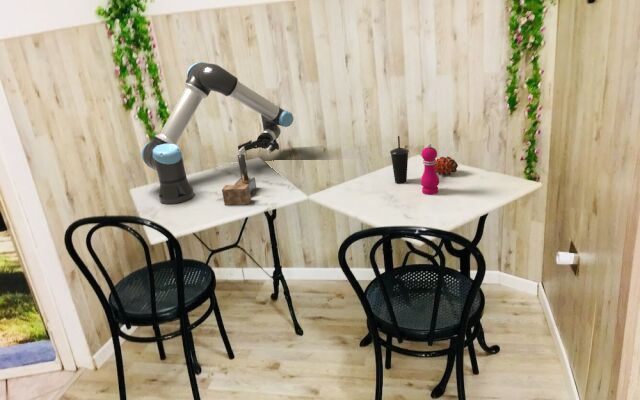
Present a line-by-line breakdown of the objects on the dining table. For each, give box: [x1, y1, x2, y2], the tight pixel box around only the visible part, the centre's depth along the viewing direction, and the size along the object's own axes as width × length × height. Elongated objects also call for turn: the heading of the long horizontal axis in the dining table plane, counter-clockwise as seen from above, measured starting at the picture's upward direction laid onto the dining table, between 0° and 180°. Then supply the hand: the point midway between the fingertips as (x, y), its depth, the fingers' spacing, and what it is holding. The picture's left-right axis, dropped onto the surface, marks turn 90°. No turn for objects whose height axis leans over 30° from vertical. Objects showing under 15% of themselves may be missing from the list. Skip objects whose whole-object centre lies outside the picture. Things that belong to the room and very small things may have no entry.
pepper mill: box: [420, 143, 440, 196], centre depth 204 cm, size 7×7×20 cm
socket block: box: [221, 184, 252, 206], centre depth 218 cm, size 10×5×7 cm, turn 80°
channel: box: [234, 176, 257, 197], centre depth 228 cm, size 7×10×5 cm
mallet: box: [236, 153, 252, 185], centre depth 222 cm, size 4×15×15 cm, turn 170°
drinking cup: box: [389, 135, 410, 185], centre depth 217 cm, size 8×8×20 cm
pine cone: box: [435, 156, 459, 177], centre depth 223 cm, size 8×8×12 cm
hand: (253, 153), depth 241 cm, fingers open, 13 cm apart
